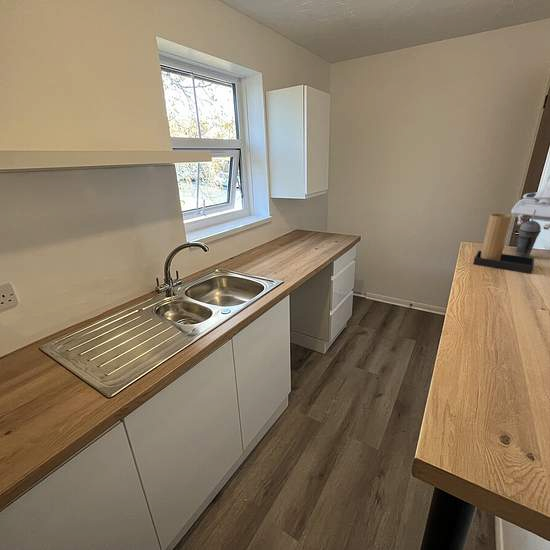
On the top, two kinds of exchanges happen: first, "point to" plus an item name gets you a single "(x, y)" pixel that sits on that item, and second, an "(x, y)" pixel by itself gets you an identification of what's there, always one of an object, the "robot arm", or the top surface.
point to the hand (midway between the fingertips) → (531, 226)
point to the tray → (507, 263)
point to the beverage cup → (527, 237)
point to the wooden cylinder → (495, 236)
